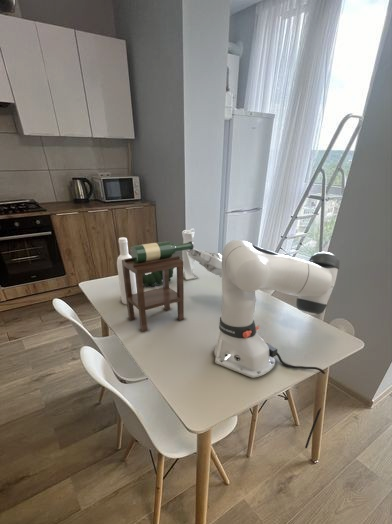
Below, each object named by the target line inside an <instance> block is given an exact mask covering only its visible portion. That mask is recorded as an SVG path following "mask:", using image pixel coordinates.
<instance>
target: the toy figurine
mask: <svg viewBox="0 0 392 524" xmlns="http://www.w3.org/2000/svg"><path fill="white" fill-rule="evenodd" d="M174 269H175V268H170V269H169V283H170V282H171V280H172V279H171V278H173V276H174ZM142 276H143V287H146V288H147V287H148V286H151V287H152V288H154V287H155V284H158V285H159V286H161V285H163V271H162V270H161V271H156V272H151V273H147V274H142Z"/></svg>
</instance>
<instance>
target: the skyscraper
mask: <svg viewBox="0 0 392 524" xmlns="http://www.w3.org/2000/svg"><path fill="white" fill-rule="evenodd" d="M192 230H193V231H192ZM181 234H182V235H181V236H182V239H183V240H182V241H183V242H182V243H188V242H192V243H193V246H194V247H193V248H195V249H196V247H195V242H194V238H195V234H196V231H195V228H190V229H187V230H186V229H184V230H183V231H182V232H181ZM188 253H189V252H187V251H186V250H184V251H181V257H182V261H183V280H185V281H190V280H191V281H192V280H197V279H198V277H197V276H196V275H194V265H195V261H196V260H195V259H193V258H192V257H190V256H189V255H188Z"/></svg>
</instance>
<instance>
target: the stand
mask: <svg viewBox="0 0 392 524" xmlns="http://www.w3.org/2000/svg"><path fill="white" fill-rule="evenodd" d="M122 267H123V275H124V284H125V292H126V300H127V304H126V307H127V316H128V319H129V320H130V321H133V320H135V309H134V308H136V309H137V310H138V316H139V325H140V326H139V327H140V331H141V332H142V333H143V332H147V331H148V325H147V323H148V322H147V311H148V310H151V309H155V308H159V307H163V309H164V310H165V311H169V310H171V304H174V303H176V305H177V308H176V309H177V319H178V321H183V320H184V319H185V311H184V310H185V308H184V307H185V305H184V304H185V303H184V302H185V301H184V300H185V299H184V298H185V295H184V294H185V293H184V289H185V288H184V287H185V286H184V278H183V274H184V266H183V259H180V256H179V255H177V256H175V255H172V257H170V258H165V259H159V260H154V261H149V262H143V263H137V264H135V263H134V262H133V260H132V258H128V259H124V260H122ZM170 268H174V269H175V268H176V291H175V290H173V288H171V287H170V282H169V269H170ZM129 270H131V271H132V272H134V273H135V277H136V287H137V293H136V294H132V290H131V281H130V272H129ZM161 270H162V271H163V280H162V287H157V288H153V289H149V290H145V289H144V285H143V276H142V274H145V275H147V274H151V273H152V272H156V271H161ZM144 290H145V291H144Z"/></svg>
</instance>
